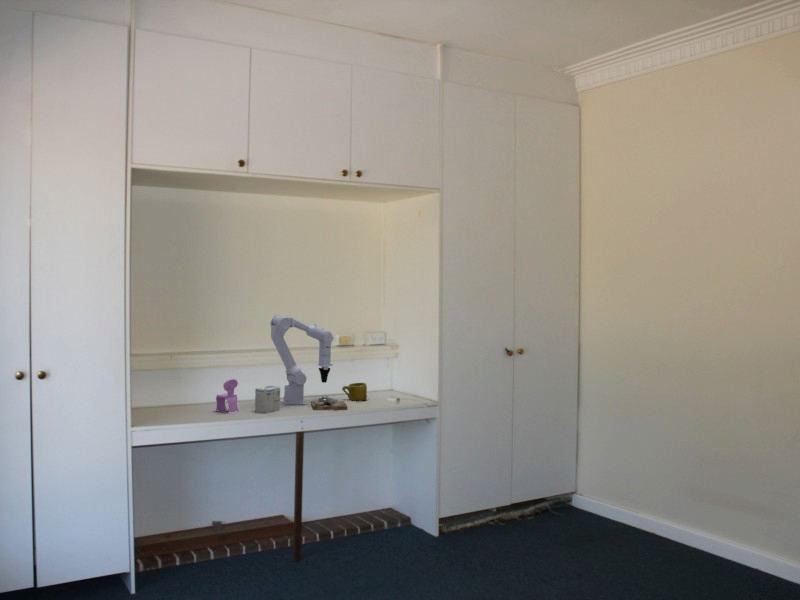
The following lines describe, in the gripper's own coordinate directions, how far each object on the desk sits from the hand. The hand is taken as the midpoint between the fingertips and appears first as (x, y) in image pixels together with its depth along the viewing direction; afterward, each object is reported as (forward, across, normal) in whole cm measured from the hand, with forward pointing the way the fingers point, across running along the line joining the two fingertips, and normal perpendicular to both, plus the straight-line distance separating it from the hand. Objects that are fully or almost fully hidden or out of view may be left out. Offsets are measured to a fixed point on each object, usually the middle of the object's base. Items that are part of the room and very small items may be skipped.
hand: (324, 382), depth 375 cm
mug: (+10, +4, -16) cm, 19 cm away
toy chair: (+10, -25, +46) cm, 53 cm away
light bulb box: (+10, -24, +28) cm, 38 cm away
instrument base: (+9, -16, -1) cm, 19 cm away
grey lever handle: (+8, -19, -1) cm, 21 cm away
